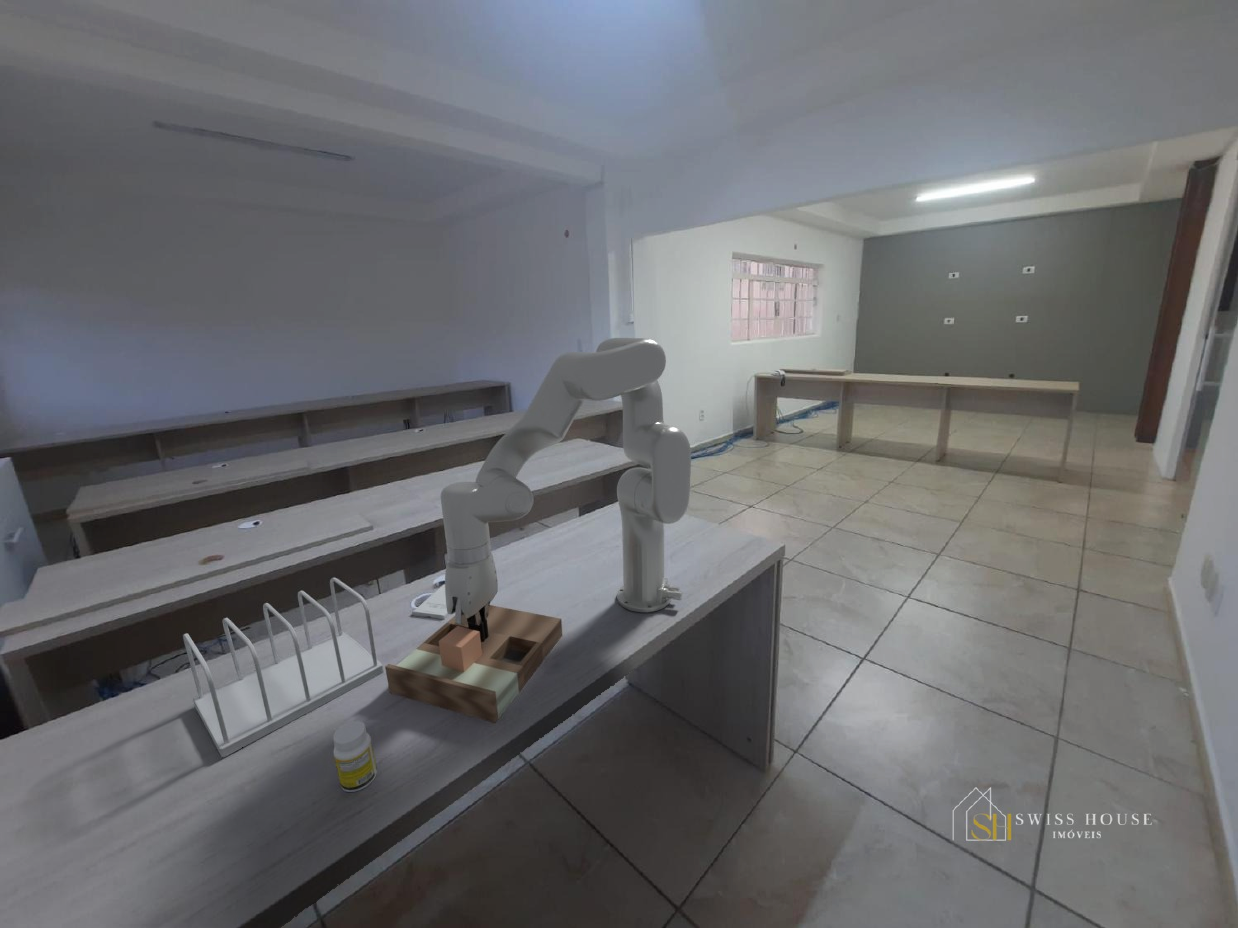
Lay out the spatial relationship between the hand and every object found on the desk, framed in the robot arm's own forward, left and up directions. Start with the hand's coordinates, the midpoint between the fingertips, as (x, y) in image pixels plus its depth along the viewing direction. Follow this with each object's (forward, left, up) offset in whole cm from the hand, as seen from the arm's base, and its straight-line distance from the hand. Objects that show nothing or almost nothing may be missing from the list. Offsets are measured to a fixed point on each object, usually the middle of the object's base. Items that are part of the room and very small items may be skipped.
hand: (479, 638), depth 94 cm
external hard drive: (+21, -16, -6) cm, 27 cm away
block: (0, +5, -1) cm, 5 cm away
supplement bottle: (+2, +27, -6) cm, 28 cm away
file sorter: (+29, +17, -6) cm, 34 cm away
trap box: (0, -1, -5) cm, 5 cm away
